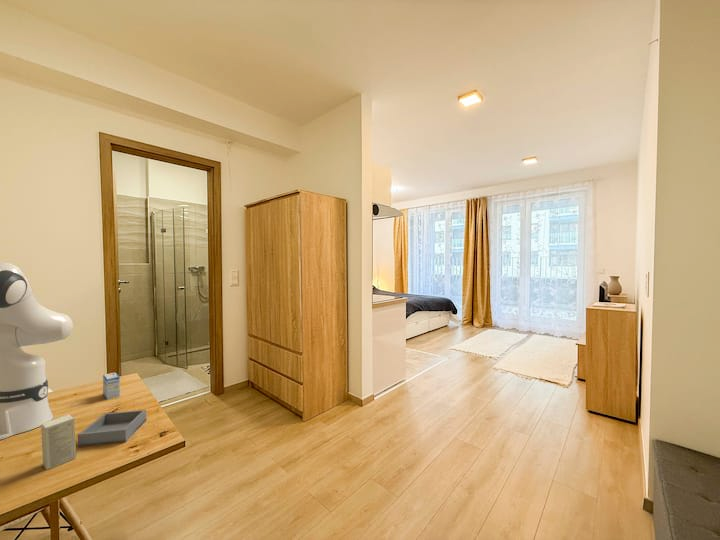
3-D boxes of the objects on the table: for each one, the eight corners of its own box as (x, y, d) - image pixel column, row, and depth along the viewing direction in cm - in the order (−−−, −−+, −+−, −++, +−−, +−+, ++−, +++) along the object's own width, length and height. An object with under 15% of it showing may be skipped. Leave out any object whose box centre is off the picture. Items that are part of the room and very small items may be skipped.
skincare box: (71, 452, 88) (70, 413, 88) (76, 458, 86) (75, 417, 85) (41, 465, 83) (40, 422, 82) (45, 471, 80) (44, 427, 80)
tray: (77, 447, 91) (77, 434, 91) (104, 424, 103) (104, 413, 103) (125, 442, 93) (125, 429, 93) (146, 420, 106) (146, 409, 106)
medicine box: (102, 394, 127) (102, 374, 126) (116, 391, 130) (115, 371, 130) (106, 400, 122) (106, 379, 121) (120, 396, 125) (120, 376, 125)
